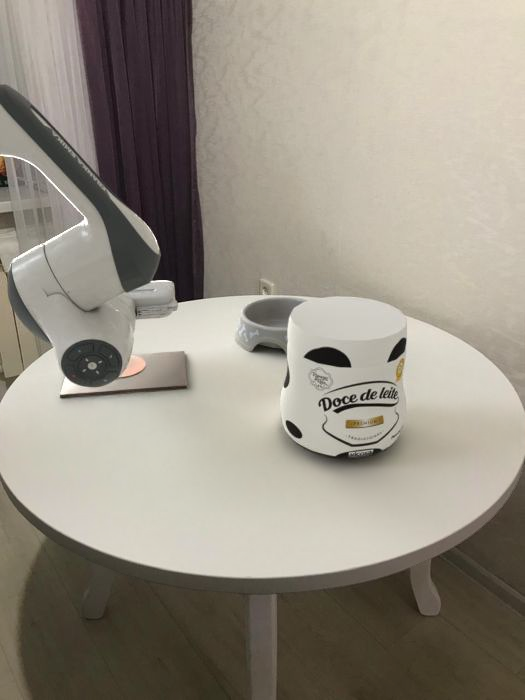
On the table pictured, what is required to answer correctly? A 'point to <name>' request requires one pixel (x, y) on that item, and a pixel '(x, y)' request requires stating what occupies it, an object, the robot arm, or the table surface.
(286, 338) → the dog bowl
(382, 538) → the table surface
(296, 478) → the table surface
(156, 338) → the table surface
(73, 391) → the placemat
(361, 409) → the milk container
